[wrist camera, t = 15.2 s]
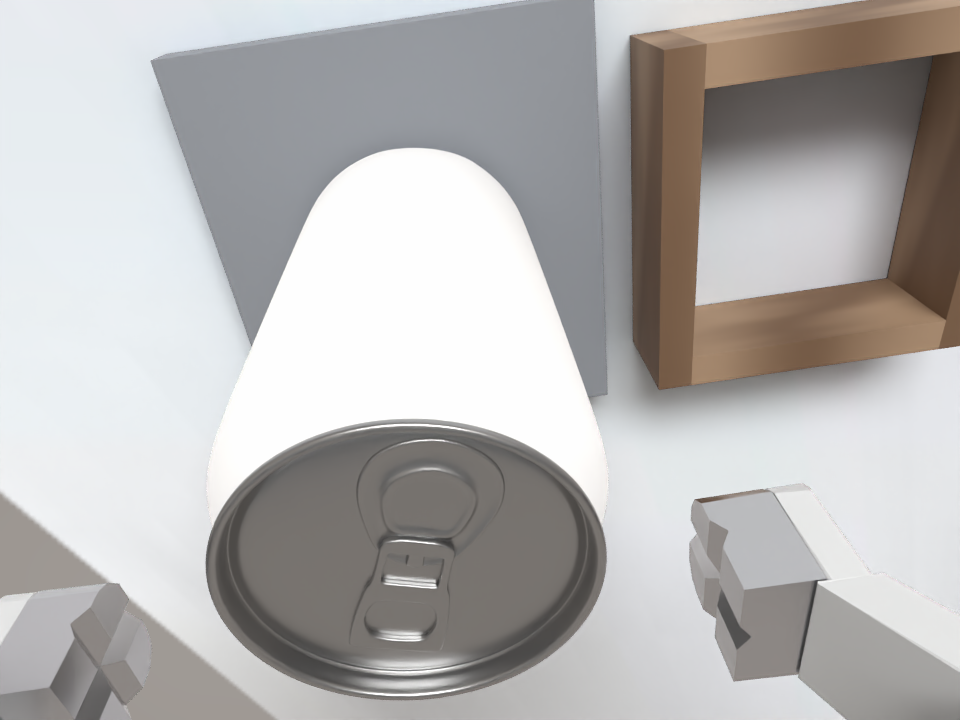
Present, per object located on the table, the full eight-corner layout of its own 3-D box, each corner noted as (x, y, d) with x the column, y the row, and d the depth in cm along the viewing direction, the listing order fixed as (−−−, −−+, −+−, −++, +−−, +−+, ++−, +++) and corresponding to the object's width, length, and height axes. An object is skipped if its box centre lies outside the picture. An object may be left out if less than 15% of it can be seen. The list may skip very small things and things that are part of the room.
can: (552, 167, 19) (708, 432, 9) (500, 364, 22) (566, 727, 12) (315, 119, 18) (166, 357, 7) (295, 333, 21) (173, 705, 11)
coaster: (583, -9, 18) (593, -6, 17) (599, 375, 24) (607, 394, 23) (166, 53, 18) (150, 60, 17) (291, 420, 24) (285, 441, 23)
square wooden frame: (984, -18, 18) (1076, -12, 16) (910, 300, 23) (970, 344, 21) (630, 35, 18) (664, 50, 16) (633, 341, 23) (658, 389, 21)
